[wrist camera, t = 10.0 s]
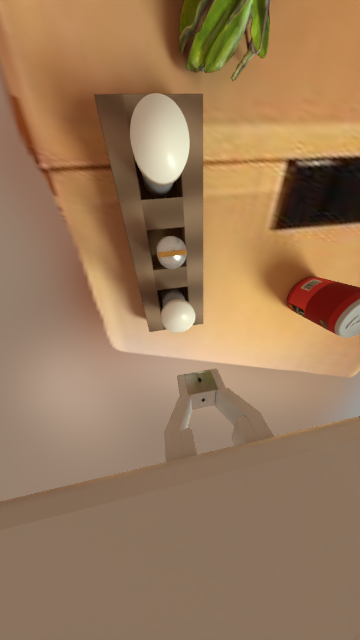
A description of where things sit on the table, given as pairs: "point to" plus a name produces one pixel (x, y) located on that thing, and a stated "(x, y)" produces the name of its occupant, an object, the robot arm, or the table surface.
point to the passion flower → (223, 32)
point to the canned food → (328, 305)
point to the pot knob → (171, 252)
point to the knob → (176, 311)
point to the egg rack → (158, 203)
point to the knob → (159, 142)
